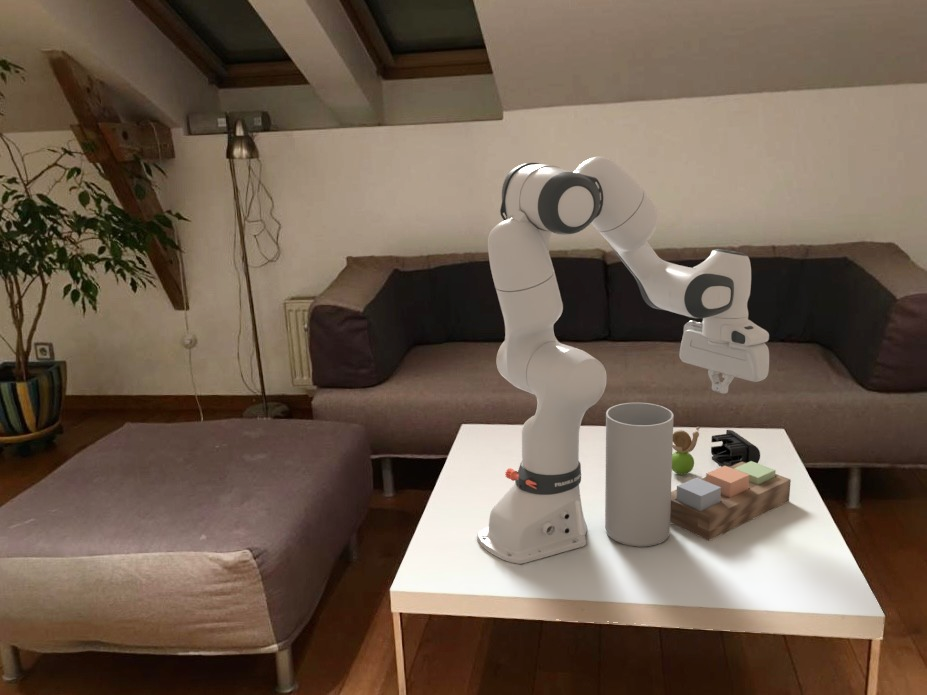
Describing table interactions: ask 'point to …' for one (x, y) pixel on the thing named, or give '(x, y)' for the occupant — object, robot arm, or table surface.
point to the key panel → (731, 508)
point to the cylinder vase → (638, 473)
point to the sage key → (757, 472)
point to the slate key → (698, 494)
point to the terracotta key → (729, 480)
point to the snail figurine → (683, 451)
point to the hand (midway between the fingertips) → (719, 391)
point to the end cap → (733, 450)
